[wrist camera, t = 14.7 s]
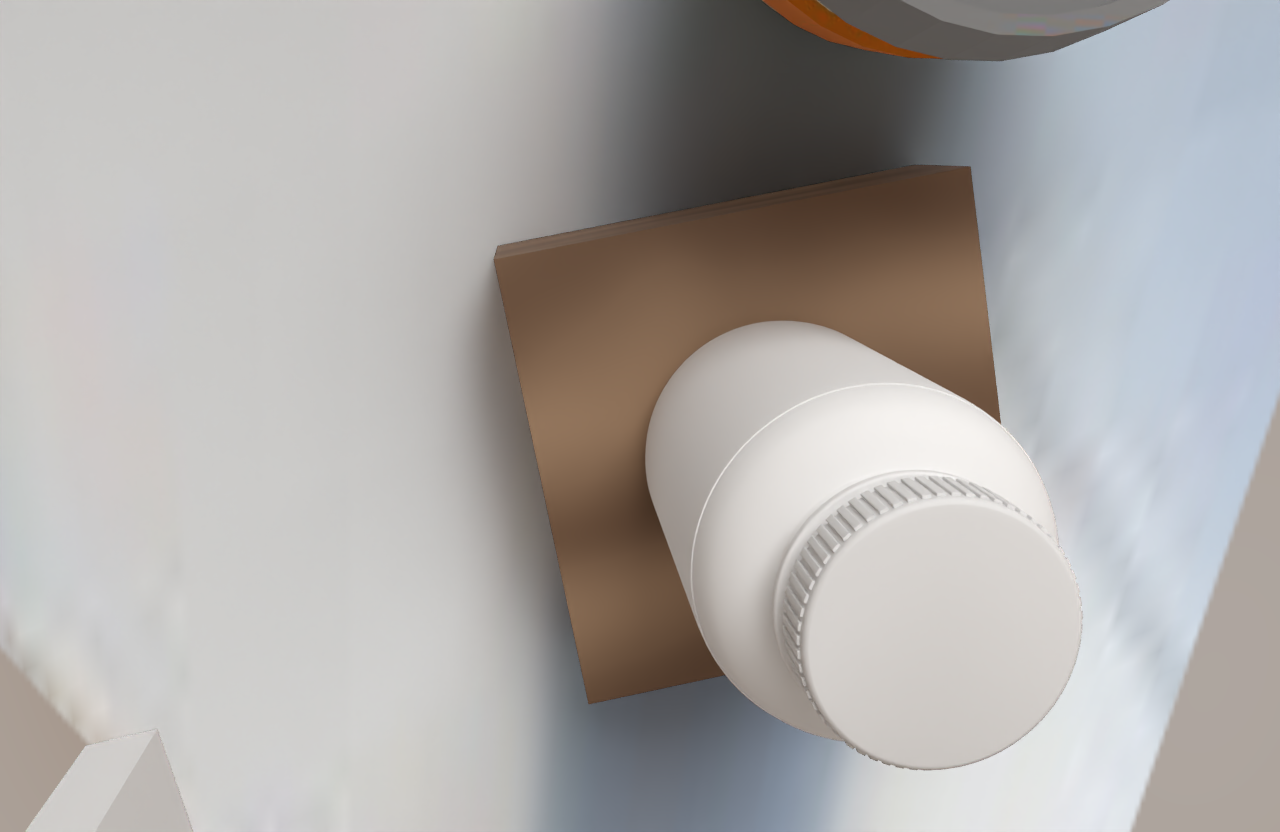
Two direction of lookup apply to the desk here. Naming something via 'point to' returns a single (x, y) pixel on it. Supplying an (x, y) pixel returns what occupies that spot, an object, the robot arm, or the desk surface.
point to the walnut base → (681, 324)
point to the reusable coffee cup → (959, 24)
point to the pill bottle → (862, 546)
